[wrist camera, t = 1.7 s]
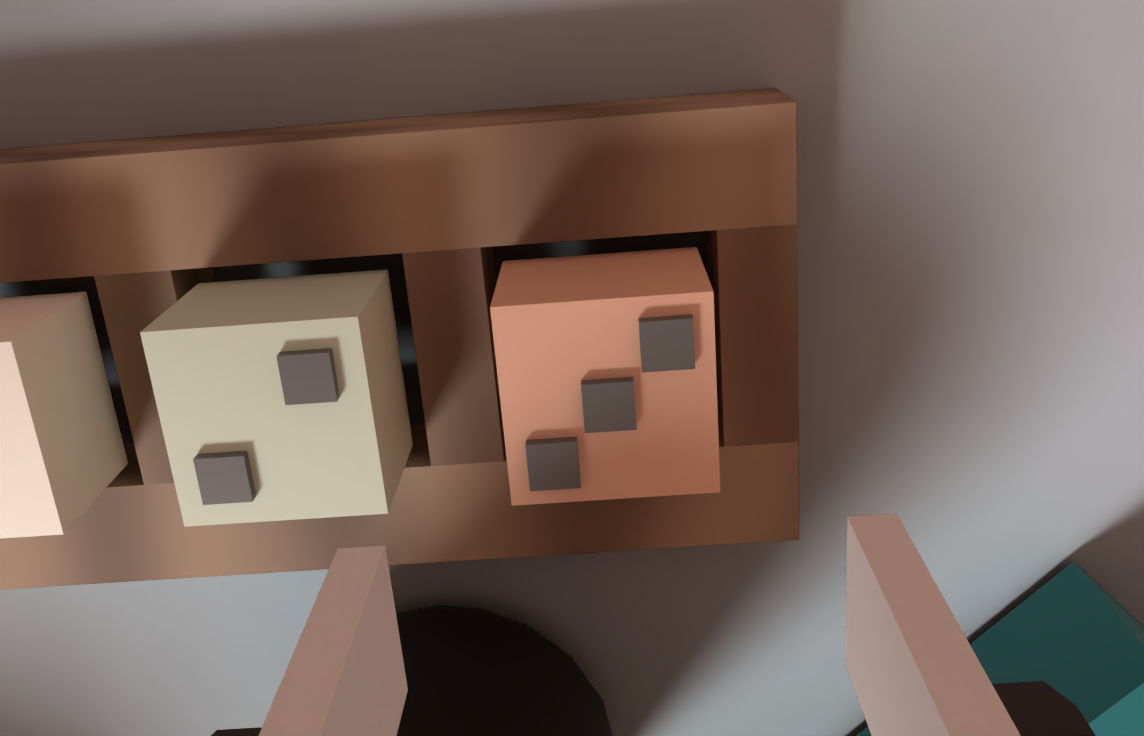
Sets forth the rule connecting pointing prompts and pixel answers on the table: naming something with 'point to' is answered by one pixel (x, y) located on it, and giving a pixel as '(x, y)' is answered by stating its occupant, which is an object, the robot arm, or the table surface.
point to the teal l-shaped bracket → (1072, 651)
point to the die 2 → (281, 398)
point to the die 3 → (607, 376)
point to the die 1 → (53, 415)
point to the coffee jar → (490, 679)
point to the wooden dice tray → (425, 309)
